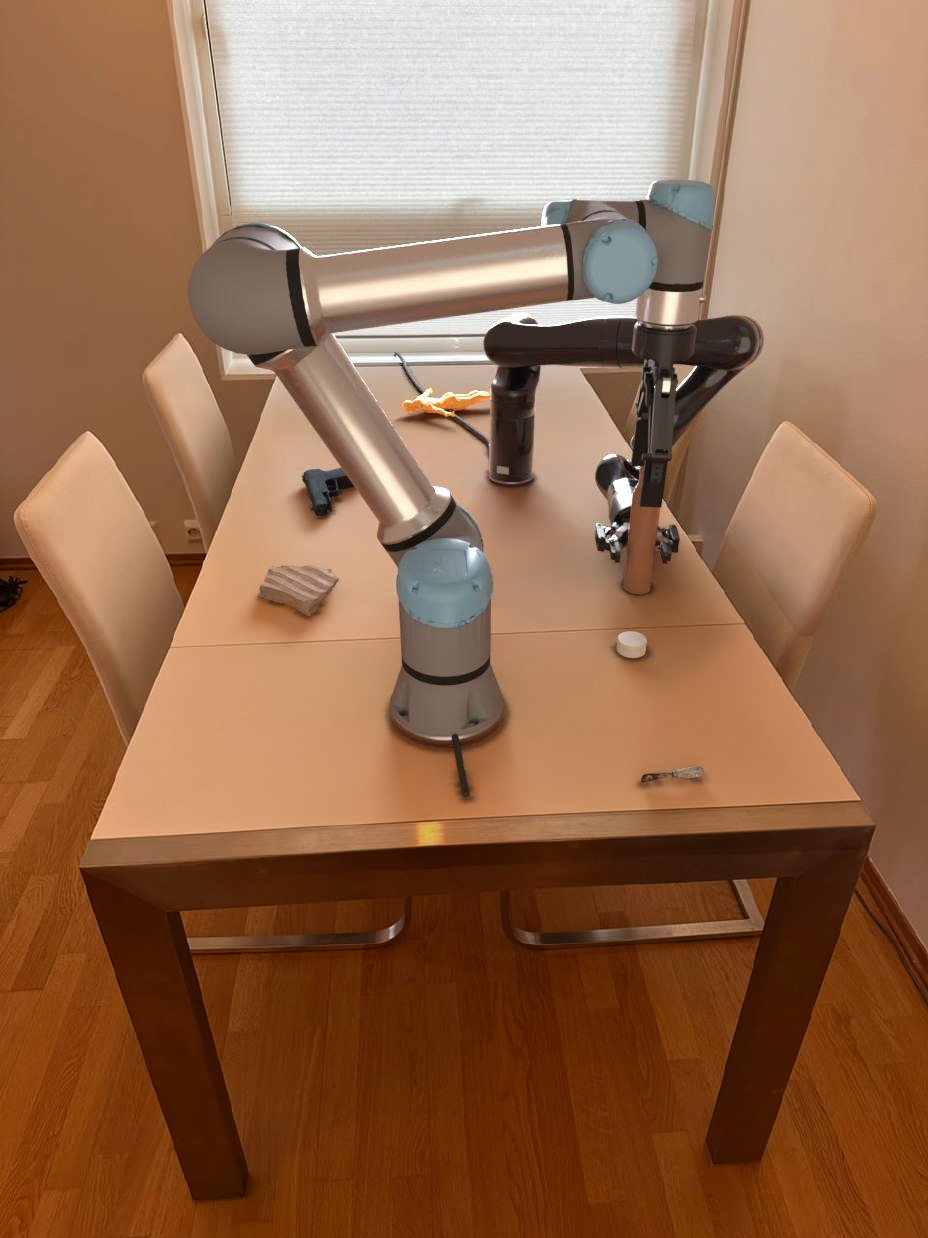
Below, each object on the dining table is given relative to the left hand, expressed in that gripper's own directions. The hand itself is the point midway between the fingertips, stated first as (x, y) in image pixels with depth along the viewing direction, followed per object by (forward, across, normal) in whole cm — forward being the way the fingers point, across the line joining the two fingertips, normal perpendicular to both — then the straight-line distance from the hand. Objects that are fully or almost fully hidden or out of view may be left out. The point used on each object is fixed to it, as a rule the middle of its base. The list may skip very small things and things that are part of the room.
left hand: (645, 484), depth 119 cm
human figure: (+27, +106, +36) cm, 115 cm away
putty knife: (+27, -28, -4) cm, 39 cm away
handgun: (+27, +52, +54) cm, 80 cm away
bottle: (+27, +19, -3) cm, 33 cm away
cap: (+25, 0, -1) cm, 25 cm away
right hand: (+20, +17, -3) cm, 26 cm away
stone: (+28, +12, +52) cm, 60 cm away
